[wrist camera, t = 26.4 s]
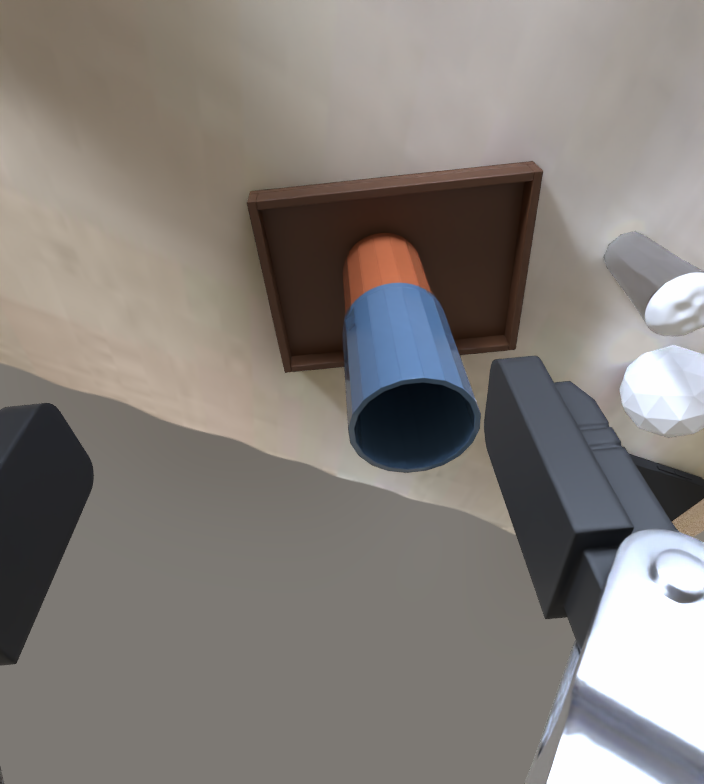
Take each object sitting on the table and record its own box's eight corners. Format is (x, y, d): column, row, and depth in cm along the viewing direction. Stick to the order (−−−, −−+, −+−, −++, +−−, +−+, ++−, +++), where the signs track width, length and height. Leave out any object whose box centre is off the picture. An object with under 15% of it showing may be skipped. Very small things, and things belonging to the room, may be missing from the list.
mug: (338, 237, 36) (342, 292, 30) (421, 228, 36) (442, 282, 30) (349, 333, 41) (354, 397, 35) (421, 326, 41) (438, 389, 35)
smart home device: (578, 446, 50) (717, 490, 56) (571, 433, 51) (707, 478, 57) (527, 495, 55) (660, 531, 61) (522, 482, 56) (653, 519, 62)
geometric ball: (623, 335, 47) (661, 333, 39) (711, 362, 46) (768, 366, 38) (593, 411, 48) (623, 424, 40) (678, 440, 47) (727, 458, 39)
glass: (348, 374, 34) (355, 478, 27) (336, 289, 30) (341, 386, 23) (444, 363, 34) (476, 465, 27) (446, 276, 29) (484, 370, 23)
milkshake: (677, 239, 38) (767, 308, 30) (614, 288, 40) (682, 364, 33) (647, 200, 36) (735, 264, 28) (583, 255, 38) (648, 327, 31)
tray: (286, 357, 43) (284, 373, 42) (249, 191, 34) (246, 202, 32) (508, 335, 43) (515, 349, 41) (532, 160, 34) (543, 170, 32)
